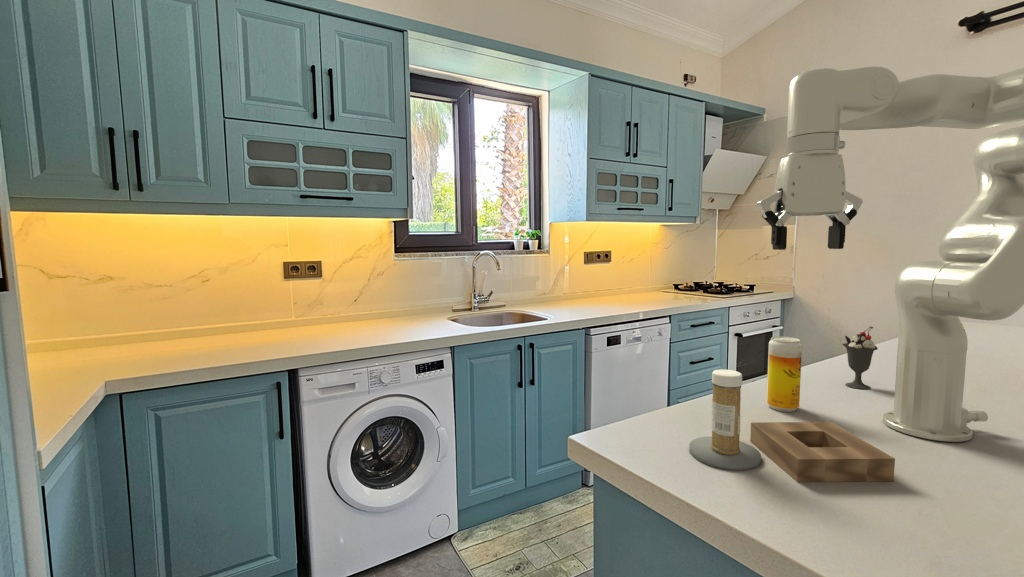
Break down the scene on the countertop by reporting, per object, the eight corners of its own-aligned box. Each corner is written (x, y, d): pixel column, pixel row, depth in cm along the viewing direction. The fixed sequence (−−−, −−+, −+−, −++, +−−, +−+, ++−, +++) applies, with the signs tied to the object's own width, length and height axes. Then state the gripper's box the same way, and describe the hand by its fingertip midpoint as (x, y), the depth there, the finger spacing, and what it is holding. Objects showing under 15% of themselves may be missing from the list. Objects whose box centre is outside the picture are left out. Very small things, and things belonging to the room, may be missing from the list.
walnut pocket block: (830, 440, 83) (831, 421, 83) (893, 481, 69) (895, 458, 69) (750, 441, 84) (750, 422, 83) (797, 481, 69) (798, 459, 69)
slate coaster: (741, 440, 84) (741, 436, 84) (774, 470, 73) (774, 465, 73) (680, 440, 84) (680, 436, 84) (703, 470, 73) (704, 465, 73)
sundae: (882, 390, 110) (886, 328, 109) (853, 390, 110) (857, 328, 109) (861, 382, 117) (865, 323, 115) (834, 382, 117) (838, 323, 115)
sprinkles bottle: (745, 451, 78) (748, 372, 77) (729, 458, 75) (732, 377, 74) (720, 441, 82) (722, 366, 80) (704, 448, 79) (706, 371, 78)
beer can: (798, 414, 96) (802, 343, 94) (765, 409, 99) (768, 340, 98) (799, 405, 101) (802, 337, 100) (767, 401, 104) (769, 335, 103)
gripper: (847, 151, 83) (842, 248, 85) (749, 153, 83) (746, 249, 85) (880, 142, 75) (873, 248, 77) (772, 144, 76) (768, 250, 77)
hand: (807, 249), depth 81 cm, fingers open, 9 cm apart
